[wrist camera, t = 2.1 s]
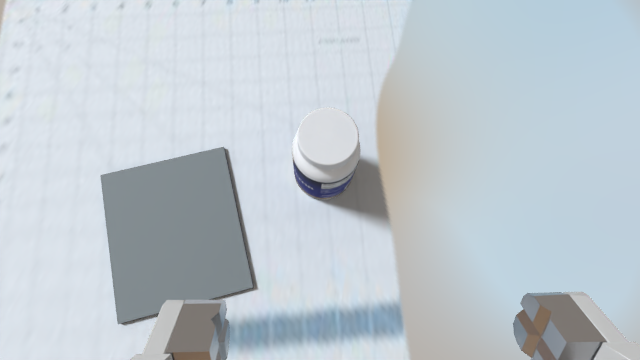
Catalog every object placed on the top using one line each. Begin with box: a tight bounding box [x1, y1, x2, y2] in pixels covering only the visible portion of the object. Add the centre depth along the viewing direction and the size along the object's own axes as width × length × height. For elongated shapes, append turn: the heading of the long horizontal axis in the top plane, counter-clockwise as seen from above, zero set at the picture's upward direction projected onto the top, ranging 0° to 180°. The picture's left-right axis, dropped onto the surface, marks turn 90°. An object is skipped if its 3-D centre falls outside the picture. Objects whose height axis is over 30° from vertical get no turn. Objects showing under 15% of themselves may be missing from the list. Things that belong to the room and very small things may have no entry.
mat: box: [101, 147, 254, 324], centre depth 36 cm, size 14×12×1 cm
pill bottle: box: [292, 108, 360, 199], centre depth 33 cm, size 6×6×10 cm
